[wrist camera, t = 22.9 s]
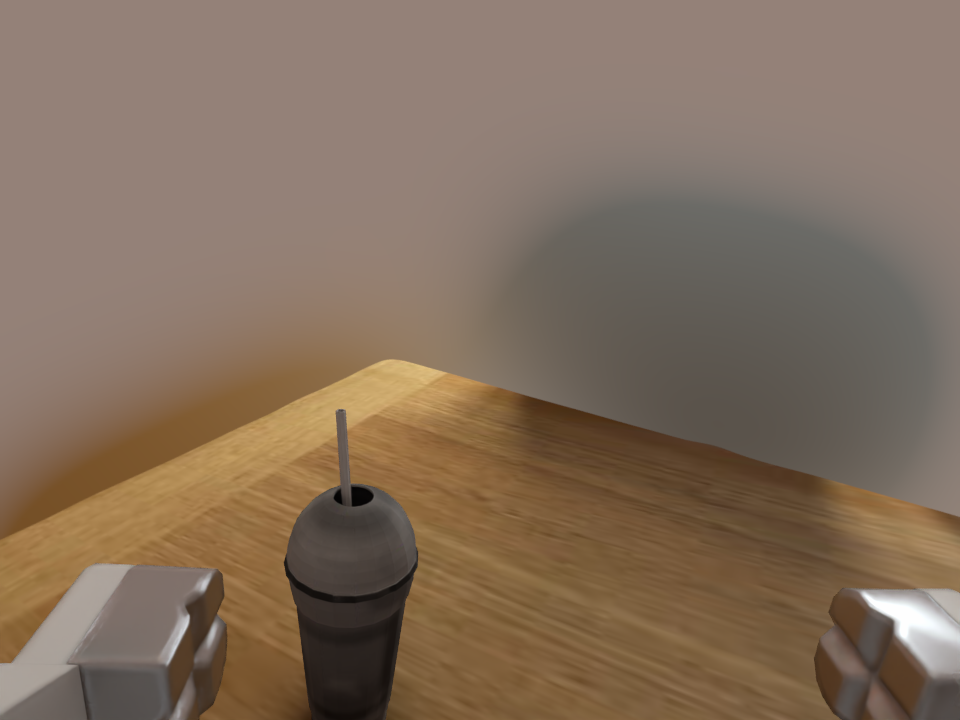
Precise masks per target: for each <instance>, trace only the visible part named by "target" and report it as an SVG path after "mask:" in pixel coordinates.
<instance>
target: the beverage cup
mask: <svg viewBox="0 0 960 720" xmlns="http://www.w3.org/2000/svg"><path fill="white" fill-rule="evenodd" d="M336 422H337V437H338V452H339V466H340V481H341V486H338V487H334V488H331V489H329V490H327V491H325V492H324V493H322V494H320V495H319V496H317V497H316V498H315V499H314V500H313V501H312V502H311V503H310V504H309V505H308V506H307V507H306V508H305V509H304V510H303V511H302V512H301V514H300V515H299V517H298V518H297V520H296V523H295V525H294V527H293V530H292V533H291V536H290V539H289V543H288V548H287V554H286V557H285V561H284V566H285V571H286V576H287V577H288V579H289V581H290V587H291V591H292V595H293V598H294V602H295V604H296V605H297V613H298V621H299V629H300V637H301V645H302V653H303V662H304V670H305V678H306V686H307V694H308V701H309V707H310V710H311V713H312V720H385V719H386V711H387V708H388V703H389V701H390V696H391V690H392V683H393V677H394V671H395V664H396V658H397V652H398V645H399V639H400V632H401V626H402V620H403V613H404V607H405V601H406V598H407V596H408V594H409V591H410V588H411V584H412V581H413V575H414V572H415V570H416V568H417V566H418V551H417V548H416V545H415V535H414V531H413V528H412V526H411V523H410V521H409V519H408V517H407V515H406V513H405V511H404V510H403V508H402V507H401V505H400V504H399V503H398V502H397V501H396V500H394V499H393V498H392V497H391V496H390V495H389V494H387V493H386V492H384V491H382V490H380V489H378V488H375V487H372V486H368V485H364V484H350V469H349V454H348V439H347V424H346V410H345V409H338V410H336Z"/></svg>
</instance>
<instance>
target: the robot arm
mask: <svg viewBox="0 0 960 720" xmlns="http://www.w3.org/2000/svg"><path fill="white" fill-rule="evenodd" d="M223 598H224V586H223V576H222V573H221V572H220V571H219V570H218V569H209V568H190V567H171V566H152V565H136V566H134V565H123V564H99V563H95V564H93V565H91V566H89V567H87V568H85V569H84V570H83V571H82V573H81V574H80V575H79V576H78V578H77V579H76V580H75V582H74V583H73V584H72V586H71V587H70V588H69V589H68V591H67V592H66V593H65V595H64V596H63V597H62V598H61V600H60V601H59V602H58V604H57V605H56V606H55V607H54V609H53V610H52V611H51V613H50V614H49V615H48V616H47V618H46V619H45V620H44V622H43V623H42V624H41V625H40V627H39V628H38V629H37V631H36V632H35V633H34V634H33V636H32V637H31V638H30V640H29V641H28V642H27V643H26V645H25V646H24V647H23V649H22V650H21V651H20V652H19V654H18V655H17V656H16V658H15V659H14V660H13V661H12V663H0V720H200V719H199V716H200V715H201V714H202V713H204V712H205V711H206V710H207V709H208V708H210V707H211V706H212V705H213V704H214V701H215V698H216V696H217V693H218V690H219V687H220V684H221V680H222V675H223V671H224V666H225V661H226V650H227V627H226V623H225V622H224V621H223V620H222V619H221V618H220V617H219V616H218V615H217V612H218V610H219V607H220V605H221V603H222V600H223ZM829 614H830V616H831V618H832V620H833V622H834V625H835V626H833V627H832V628H831V629H830V630H829V631H828V632H826V633H825V634H824V635H823V636H822V637H821V638H820V639H819V643H818V646H817V650H816V654H815V657H814V661H815V671H816V680H817V683H818V686H819V688H820V691H821V694H822V696H823V698H824V700H825V701H826V703H827V704H828V706H829V708H830V709H831V711H832V712H833V714H835V715H836V716H838V717H839V718H840V719H842V720H960V593H958V592H956V591H954V590H952V589H913V590H902V589H860V588H842V589H841V590H840V591H839V592H838V593H837V594H836V595H835V596H834V597H833V600H832V603H831V606H830V609H829Z"/></svg>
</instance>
